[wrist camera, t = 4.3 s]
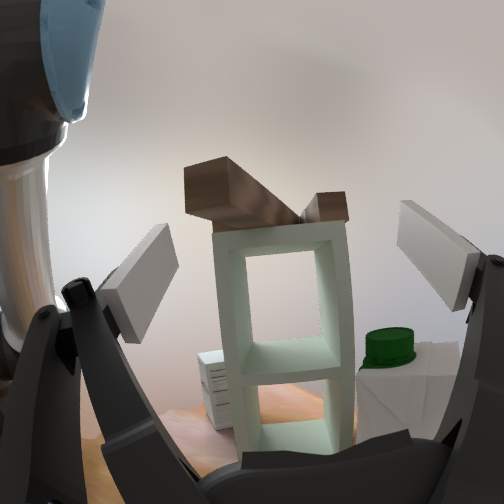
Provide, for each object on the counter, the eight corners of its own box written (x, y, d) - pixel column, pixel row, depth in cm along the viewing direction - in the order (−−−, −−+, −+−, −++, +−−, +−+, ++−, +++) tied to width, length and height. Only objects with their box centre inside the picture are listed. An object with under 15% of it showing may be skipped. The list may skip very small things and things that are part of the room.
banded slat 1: (243, 230, 28) (240, 199, 28) (212, 233, 28) (210, 203, 28) (255, 243, 41) (253, 221, 41) (234, 245, 41) (232, 224, 41)
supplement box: (205, 413, 46) (195, 352, 47) (242, 406, 49) (235, 346, 50) (214, 431, 40) (204, 363, 40) (256, 422, 42) (249, 356, 43)
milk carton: (365, 477, 23) (374, 321, 24) (436, 481, 18) (465, 315, 19) (334, 525, 16) (344, 350, 18) (420, 535, 11) (475, 345, 12)
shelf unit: (349, 474, 24) (344, 219, 27) (242, 483, 26) (211, 233, 28) (332, 423, 38) (322, 236, 41) (252, 430, 39) (233, 245, 42)
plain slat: (230, 204, 17) (226, 156, 17) (185, 213, 18) (183, 167, 18) (305, 240, 43) (302, 219, 44) (285, 242, 44) (282, 222, 45)
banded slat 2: (349, 220, 27) (345, 190, 27) (319, 222, 27) (315, 192, 27) (322, 236, 40) (319, 215, 40) (301, 238, 40) (298, 216, 40)
